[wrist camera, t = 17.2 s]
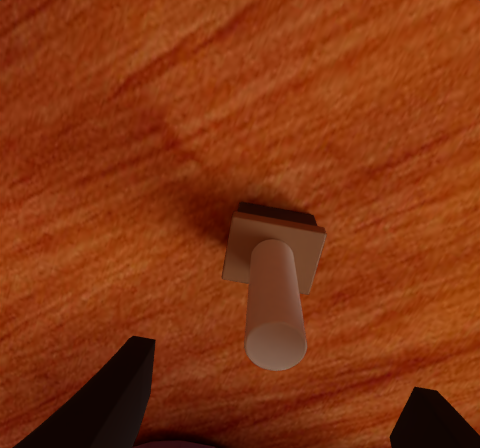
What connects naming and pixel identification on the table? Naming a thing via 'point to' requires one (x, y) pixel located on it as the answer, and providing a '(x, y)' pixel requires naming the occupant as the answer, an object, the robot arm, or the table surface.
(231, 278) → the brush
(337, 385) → the table surface
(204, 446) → the bowl
